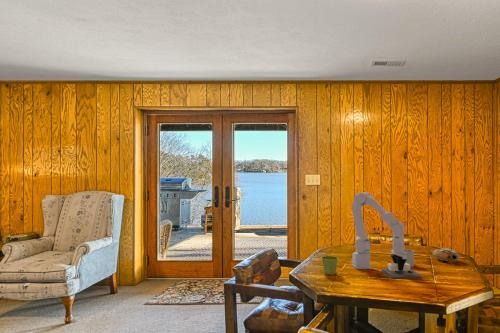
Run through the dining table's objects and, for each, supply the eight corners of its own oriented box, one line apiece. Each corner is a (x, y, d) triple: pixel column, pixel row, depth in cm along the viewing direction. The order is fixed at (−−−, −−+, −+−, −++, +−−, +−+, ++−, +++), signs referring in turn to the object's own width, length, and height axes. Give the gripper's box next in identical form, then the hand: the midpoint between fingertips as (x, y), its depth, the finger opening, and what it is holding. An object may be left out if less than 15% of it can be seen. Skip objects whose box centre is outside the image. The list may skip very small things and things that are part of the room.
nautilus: (462, 268, 198) (433, 266, 204) (459, 258, 216) (432, 256, 223) (461, 255, 197) (432, 253, 204) (458, 246, 216) (431, 245, 223)
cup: (412, 267, 198) (411, 252, 198) (394, 264, 205) (394, 249, 205) (415, 265, 203) (415, 250, 204) (398, 262, 210) (398, 247, 210)
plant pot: (329, 277, 181) (328, 260, 181) (317, 272, 189) (317, 256, 189) (342, 274, 185) (342, 258, 185) (330, 270, 194) (330, 255, 194)
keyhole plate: (391, 278, 178) (391, 275, 178) (381, 271, 190) (381, 268, 190) (421, 277, 179) (421, 274, 179) (409, 271, 191) (409, 268, 191)
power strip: (390, 274, 185) (390, 264, 185) (387, 272, 189) (387, 262, 189) (410, 274, 185) (410, 264, 185) (407, 272, 189) (407, 262, 189)
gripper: (412, 247, 180) (412, 272, 180) (399, 241, 195) (399, 265, 194) (399, 247, 180) (399, 273, 180) (387, 242, 194) (387, 265, 194)
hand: (398, 269), depth 187 cm, fingers closed on power strip, 4 cm apart
